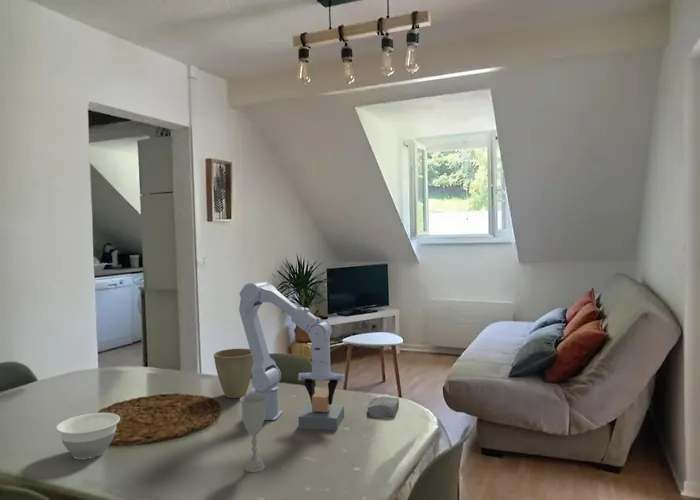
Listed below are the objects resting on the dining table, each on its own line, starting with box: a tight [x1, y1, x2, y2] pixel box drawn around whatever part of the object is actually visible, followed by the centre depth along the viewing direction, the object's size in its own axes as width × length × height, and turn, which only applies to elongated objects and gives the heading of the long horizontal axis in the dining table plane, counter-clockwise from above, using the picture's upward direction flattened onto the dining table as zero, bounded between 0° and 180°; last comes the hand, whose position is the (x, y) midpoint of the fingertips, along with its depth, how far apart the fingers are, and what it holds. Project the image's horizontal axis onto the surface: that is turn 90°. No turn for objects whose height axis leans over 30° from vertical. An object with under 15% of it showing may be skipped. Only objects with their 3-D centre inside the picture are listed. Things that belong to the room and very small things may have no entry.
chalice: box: [239, 393, 267, 473], centre depth 137 cm, size 7×7×18 cm
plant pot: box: [213, 348, 254, 399], centre depth 198 cm, size 15×15×16 cm
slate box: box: [298, 403, 345, 431], centre depth 169 cm, size 12×12×4 cm
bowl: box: [55, 412, 121, 458], centre depth 148 cm, size 16×16×8 cm
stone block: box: [367, 396, 400, 418], centre depth 179 cm, size 12×5×10 cm
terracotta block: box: [312, 391, 332, 412], centre depth 168 cm, size 5×5×4 cm
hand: (321, 403), depth 169 cm, fingers closed on terracotta block, 5 cm apart
